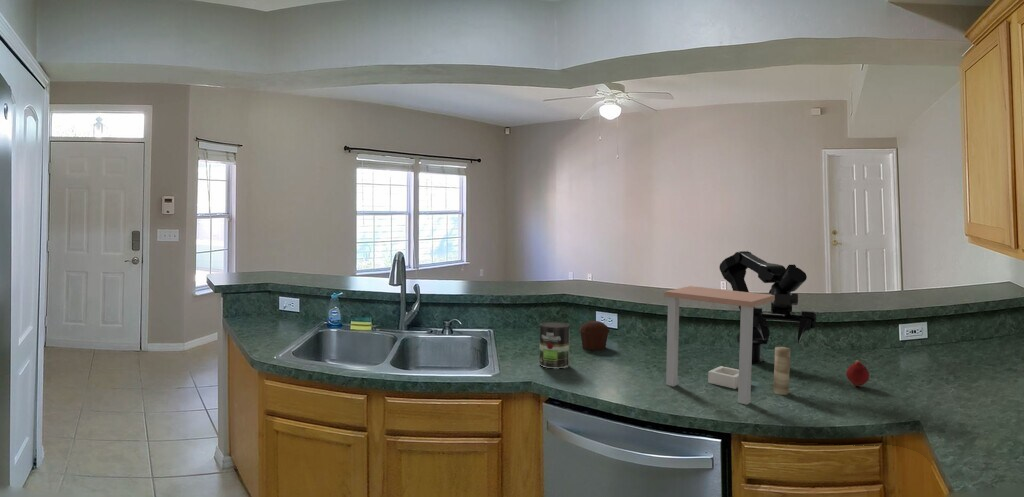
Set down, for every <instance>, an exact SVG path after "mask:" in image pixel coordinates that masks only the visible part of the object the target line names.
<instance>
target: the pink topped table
mask: <svg viewBox="0 0 1024 497" xmlns="http://www.w3.org/2000/svg"><path fill="white" fill-rule="evenodd" d="M663 296H664V297H667V324H666V327H667V328H666V332H667V333H666V368H665V369H666V370H665V372H666V374H665V378H666V379H665V385H666V386H669V387H673V388H674V387H675V386H677V385H678V378H679V377H678V373H679V371H678V369H679V332H680V331H679V329H680V327H679V326H680V299H683V300H691V301H699V302H706V303H715V304H723V305H730V306H738V307H739V306H741V312H740V323H739V324H740V326H739V328H740V329H739V333H740V343H739V353H738V354H739V356H738V370H739V384H738V388H737V390H738V391H737V403H738V404H743V405H749V404H750V403H751V392H752V391H751V390H752V389H751V388H752V387H751V386H752V364H753V363H752V334H753V307H757V306H760V305H765V304H767V303H771V301H774V300H775V295H771V294H768V293H767V294H766V293H757V292H750V291H749V292H741V291H733V290H731V289H728V290H727V289H721V288H712V287H703V286H693V285H690V286H684V287H680V288H679V287H678V288H674V289H671V290H664V292H663Z"/></svg>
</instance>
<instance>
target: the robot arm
mask: <svg viewBox="0 0 1024 497" xmlns="http://www.w3.org/2000/svg"><path fill="white" fill-rule="evenodd" d="M747 269H749V270H751V271H753V272H755V273H756V274H757V277H758V279H759V280H760V281H761V282H762V283H764V284H771V286H770V289H769V292H768V293H769V295H775V300H774V301H771V302H770V312H763V307H756V306H754V307H753V334H752V364H760V363H762V362H763V361H765V358H763V357H761V355H762V354H761V353H762V350H761V349H762V345H767V344H768V343H769V338H770V333H771V331H770V328H769V324H768V322H767V320H771V321H778V322H779V321H780V322H791V323H799V325H798V332H797V338H796V343H797V344H800V342H801V339H802V337H803V335H804V334H805V333H806V331H810V329H811V330H813V329H815V328H816V322H817V314H816V312H815V311H812V310H811V311H810V310H809V311H808V310H801V311H800V315H798V314H792V312H793V306H798V304H799V294H798V293H793V292H796V291H797V290H798V289H799V288H800V287H801V286H802V285H803V284H804V283H805V282H806V281H807V277H808V276H807V274H806V272H805V271H803V270H802V269H801V268H799V267H797V265H796V264H788V265H787V266H786V267H785V266H784V265H782V264H778V263H771V262H767V261H765V260H763V259H761V257H758V256H756V255H755V254H753V253H752V252H751V251H749V250H747V251H746V250H745V251H744V250H743V251H736V252H734V254H733V255H731V256H728V257H726V258H724V259H723V260H722V261H721V262H720V264H719V271H720V272H721V276H722V277H723V279H724V280H726V282H727V283H729V284H730V286H731V288H732V291H741V292H750V291H749V289H748V286H747V283H746V281H745V277H746V275H747ZM738 309H739V311H740V313H741V306H738ZM736 340H737V343H739V344H740V332H738V334H737V335H736Z"/></svg>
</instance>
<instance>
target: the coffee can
mask: <svg viewBox="0 0 1024 497" xmlns="http://www.w3.org/2000/svg"><path fill="white" fill-rule="evenodd" d="M570 327H571V325H570V323H568V322H564V321H543V322H540V323H539V363H540V365H541V366H543V367H548V368H564V369H566V368H565V367H567V368H569V367H570V331H571V330H570ZM540 365H539V366H540ZM541 366H540V367H541ZM568 366H569V367H568ZM543 367H542V368H543Z"/></svg>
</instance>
